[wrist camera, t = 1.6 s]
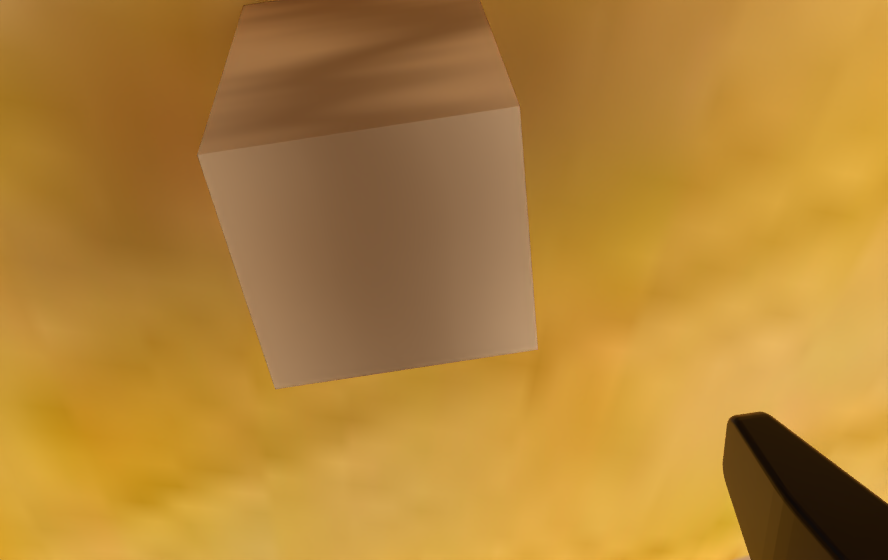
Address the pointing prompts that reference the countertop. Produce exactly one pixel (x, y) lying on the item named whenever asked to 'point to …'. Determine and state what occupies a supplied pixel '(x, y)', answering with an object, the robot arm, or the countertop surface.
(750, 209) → the countertop surface
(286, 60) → the beech block
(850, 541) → the robot arm
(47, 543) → the countertop surface
